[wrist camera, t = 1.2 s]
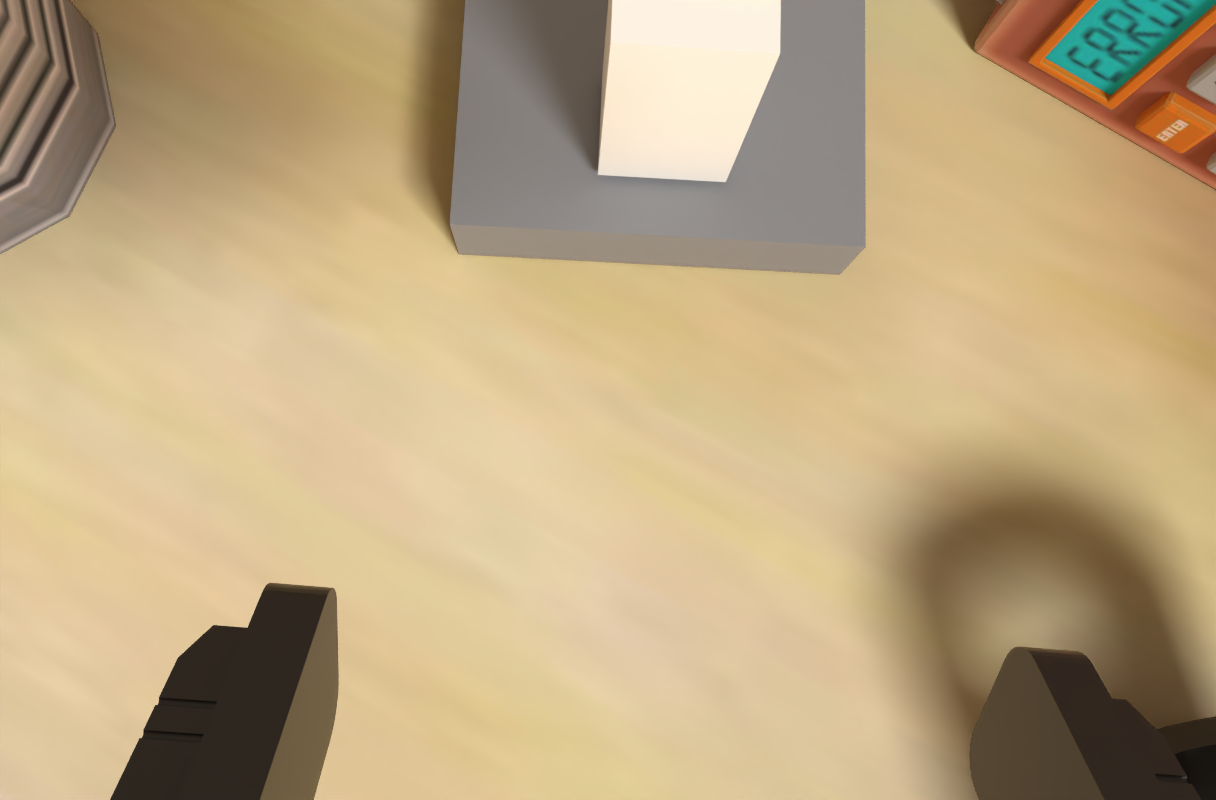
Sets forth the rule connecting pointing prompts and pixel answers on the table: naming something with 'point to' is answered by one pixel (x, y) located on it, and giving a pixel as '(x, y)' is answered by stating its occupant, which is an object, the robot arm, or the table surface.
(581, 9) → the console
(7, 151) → the can
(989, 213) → the table surface
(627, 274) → the table surface
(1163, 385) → the table surface
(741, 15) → the fader tab
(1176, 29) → the control panel
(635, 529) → the table surface
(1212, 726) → the muzzle brake
